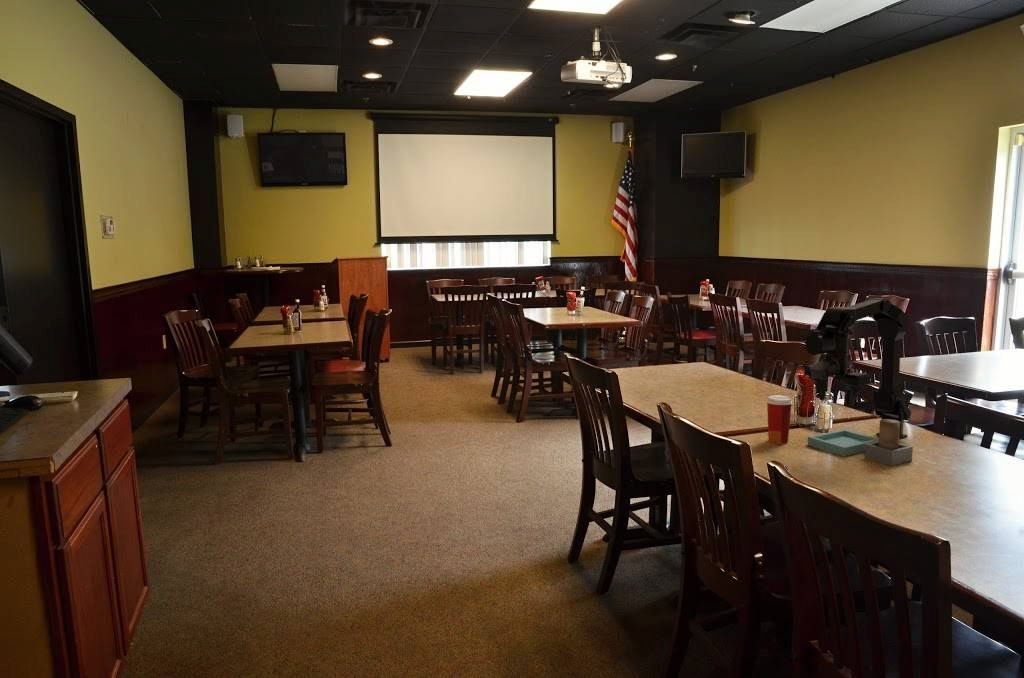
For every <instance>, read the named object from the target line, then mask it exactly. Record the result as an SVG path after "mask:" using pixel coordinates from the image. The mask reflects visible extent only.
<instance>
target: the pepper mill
mask: <svg viewBox="0 0 1024 678" xmlns="http://www.w3.org/2000/svg"><path fill="white" fill-rule="evenodd" d="M899 431H900V422H899V421H897V420H891V419H882V420H881V419H879V432H878V433H879V435H878V439H879V447H882V448H885V449H889V450H895V449H899V443H900V438H899Z"/></svg>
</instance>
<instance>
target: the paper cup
mask: <svg viewBox="0 0 1024 678" xmlns="http://www.w3.org/2000/svg"><path fill="white" fill-rule="evenodd" d="M765 402H766V409H767V413H766V414H767V433H768V434H767V436H768V437H767V438H768V443H770V442H771V444H774V445H787V444H788V443H789V434H790V426H791V425H790V424H791V415H792V414H791V413H792V412H791V411H792V404H793V403H794V402H793V401H792V398H791V397H789V396H786V395H777V394H776V395H769V396H768V397H767V398H766V400H765Z"/></svg>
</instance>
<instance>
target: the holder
mask: <svg viewBox="0 0 1024 678" xmlns="http://www.w3.org/2000/svg"><path fill="white" fill-rule="evenodd" d="M913 447H914V446H910V445H907V444H903V443H900V442H899V449H895V450H889V449H885V448H882V447H879V441H876V442H871V443H867V444H865V451H864V452H863V453H864V455H863V457H865V459H868V460H872V461H874V460H875V461H876V462H878V463H882V464H885V465H887V464H888V466H892V467H893V466H896V464H897V465H900V463H901V464H904V463H903V462H905V463H909V462H911V461H913V450H914V448H913ZM908 461H909V462H908Z"/></svg>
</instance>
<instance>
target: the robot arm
mask: <svg viewBox="0 0 1024 678" xmlns="http://www.w3.org/2000/svg"><path fill="white" fill-rule="evenodd" d="M868 317H870V318H872V319H873V321H874V323H875V324H876V330H877V333H878V334H879V336H880V338H881V374H880V375H881V376H880V386H879V387H878V389H877V390H874V391H873V393H872V394H873V395H872V396H873V400H872V404H873V407H874V408H873V409H874V412H875V416H879V417H881V418H880V420H882V419H891V420H897V421H899V422H900V431H899V439H903V438H908V434H905V433H904V421H908V420H910V418H911V415H912V411H911V410H910V408H909V406H908V405H907V403H906V398H905V397H906V396H905V393H904V392H903V390H902V389H901V386H900V372H901V371H900V367H901V345H902V344H901V342H902V339H903V337H904V336H905V335H906V333H907V331H908V326H909V323H910V322H909V321H910V319H909V316H908V315H907V314H906V313H905V311H904V310H902V309H901V308H900V307H898V306H896V305H895V304H893V303H891V301H890V300H889V299H886V298H880V297H872V298H870V299H869V300H865V301H862V302H858V303H856V304H853V305H849V306H844V307H843V306H834V307H833V306H831V307H828V308H826V309H825V312H824V313H823V314H822V316H821V318H820V320H819V322H818V324H817V326H816V328H815V330H811V334H810V335H809V336H807V338H806V340H805V342H804V347H805V350H806V351H807V352H808V353H809V354H810V355H812V356H817V355H822V356H821V360H820V361H818V362H816V363H815V364H812V365H811V364H810V365H806V366H805V368H804V369H803V376H805V377H807V379H808V380H810V381H811V382H812V383H813V384H814V386H815V389H816V392H817V394H818V398H819V400H820V401H821V402H823V401H825V397H826V392H827V387H828V382H829V377H830V378H834V379H840V380H844V383H845V384H843V386H844V388H845V389H846V395H845V397H846V398H845V399H846V400H845V403H846V407H847V408H850V407H851V406H852V404H853V403H854V401H855V400H856V397H857V395H858V394H859V392H861V390H862V388H863V387H866V386H867V385H870V384H871V376H870V375H869V374H868V373H864V372H858V371H856V372H851V368H849V367H848V360H849V359H851V358H852V357H851V356H852V355H851V354H848V353H849V336H852V335H854V332H853V331H852V330H851V329H850V328H851V327H853V326H855V325H856V324H857V321H859V320H862V319H865V318H868ZM875 435H876V436H879V432H876V434H875Z"/></svg>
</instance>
